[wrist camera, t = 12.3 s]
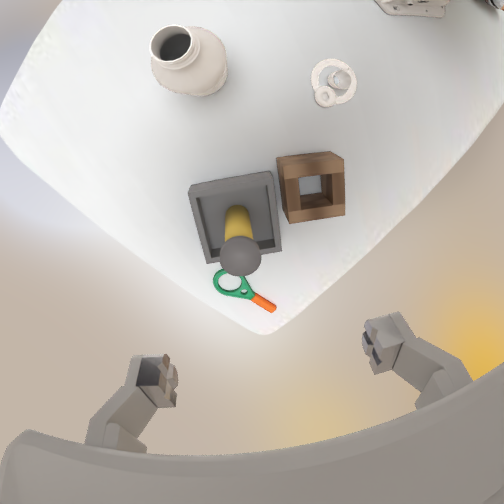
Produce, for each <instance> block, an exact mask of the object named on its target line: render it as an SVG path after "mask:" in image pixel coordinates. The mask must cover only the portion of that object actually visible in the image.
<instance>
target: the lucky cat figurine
mask: <svg viewBox="0 0 504 504" xmlns="http://www.w3.org/2000/svg"><path fill="white" fill-rule="evenodd" d="M485 1H486V2H487V3H488V4H490V5H491V6H493V7H494V8H497V9H501V10H503V11H504V0H485Z"/></svg>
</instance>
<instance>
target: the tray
mask: <svg viewBox="0 0 504 504" xmlns="http://www.w3.org/2000/svg"><path fill="white" fill-rule="evenodd" d="M188 196H189V200H190V204H191V208H192V211H193V215H194V219H195V223H196V227H197V230H198V234H199V238H200V241H201V245H202V248H203V252H204V256H205V259H206V263H207V264H209V263H215V262H220V250H221V247H222V245H223V244H224V242H225V214H226V211H227V210H228V208H230V207H231V206H233V205H241V206H244V207H245V208H246V209H247V210H248V212H249V217H250V223H251V229H252V235H253V240H254V241H255V242H256V243H257V244H258V246H259V249H260V253H261V255H263V254H268V253H274V252H280V251H282V247H281V238H280V229H279V221H278V213H277V205H276V197H275V189H274V181H273V177H272V175H271V173H270V171H267V172H260V173H254V174H248V175H242V176H236V177H231V178H225V179H220V180H215V181H210V182H205V183H200V184H195V185H191V187H190V189H189V191H188Z"/></svg>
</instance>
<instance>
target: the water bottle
mask: <svg viewBox="0 0 504 504" xmlns="http://www.w3.org/2000/svg"><path fill="white" fill-rule="evenodd" d="M150 52H151V55H152V57H151V68H152V72H153V75H154V77H155V78H156V80H157V81H158V82H159V83H160V85H162V86H163V87H164V88H166V89H168V90H169V91H172V92H175V93H180V94H187V95H194V96H207V95H210V94H213V93H215V92H216V91H218V90H219V89H220V88H221V87H222V86H223V84H224V83H225V81H226V78H227V74H228V69H227V59H226V50H225V47H224V45H223V43H222V41H221V40H220V39H219V38H218V37H217V36H216V35H215V34H214V33H212V32H211V31H209V30H207V29H204V28H201V27H183V26H180V25H168V26H166V27H163V28H161V29H160V30H158V31H157V32H156V33H155V34H154V35H153V37H152V39H151V41H150Z"/></svg>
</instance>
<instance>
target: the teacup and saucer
mask: <svg viewBox="0 0 504 504" xmlns="http://www.w3.org/2000/svg"><path fill="white" fill-rule="evenodd" d="M328 66H337V67H339V68H341V69H343V70H338V71H335V72H333V73H331V74H330V75H329V76H328V83H329V85H330V86H332V87H333V88H337V89H347V88H349V89H348V91H347V92H346V93H345V94H344V95H342V96H338V97H336V93H335V91H334V90H333V89H332V88H330V87H329V86H320V85H319V74H320V72H321V71H322V70H323V69H324V68H326V67H328ZM334 76H336V77H337V78H338V79H339V83H338V84H337V85H336V84H335V83H334V79H333V78H334ZM311 84H312V87H313V89H314V91H315V100H316V102H317V103H318V104H319V105H321V106H322V107H331V106H333V105H334V104H342V103H345V102H347V101H349V100H350V99H351V98H352V97H353V95H354V94H355V92H356V88H357V80H356V76H355V74H354V72H353V70H352V69H351V68H350V67H349V66H348V65H347V64H346V63H344V62H343V61H341V60H338V59H325V60H322V61H320V62H319V63H318V64H317V65H316V66H315V67H314V69H313V71H312V74H311ZM326 93H327V94H326Z"/></svg>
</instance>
